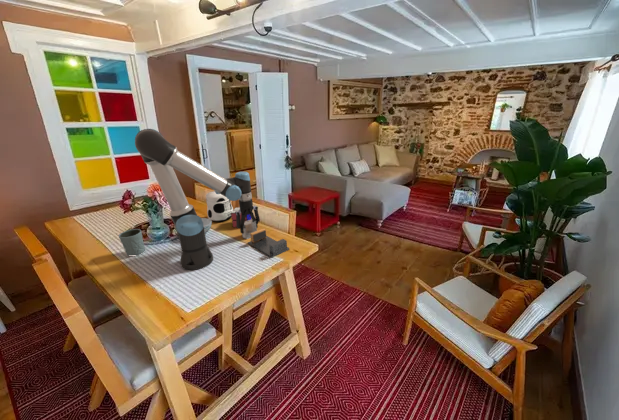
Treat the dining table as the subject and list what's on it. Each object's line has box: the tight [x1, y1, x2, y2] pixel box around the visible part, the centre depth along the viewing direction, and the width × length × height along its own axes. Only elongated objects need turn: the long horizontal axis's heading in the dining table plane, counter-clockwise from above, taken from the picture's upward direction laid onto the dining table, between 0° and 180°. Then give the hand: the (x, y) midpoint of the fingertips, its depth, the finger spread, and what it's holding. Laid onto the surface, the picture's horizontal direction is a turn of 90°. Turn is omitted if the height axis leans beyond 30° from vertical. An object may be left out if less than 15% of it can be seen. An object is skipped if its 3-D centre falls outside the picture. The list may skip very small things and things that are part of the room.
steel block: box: [243, 218, 258, 240], centre depth 160 cm, size 7×5×9 cm
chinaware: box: [201, 217, 213, 236], centre depth 164 cm, size 15×15×8 cm
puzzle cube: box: [231, 207, 252, 228], centre depth 177 cm, size 10×10×10 cm
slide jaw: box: [250, 228, 267, 242], centre depth 153 cm, size 9×2×5 cm, turn 133°
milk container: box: [205, 190, 234, 222], centre depth 186 cm, size 17×17×18 cm
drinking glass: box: [118, 228, 146, 256], centre depth 144 cm, size 10×10×12 cm
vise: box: [247, 235, 290, 259], centre depth 147 cm, size 12×22×6 cm, turn 43°
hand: (250, 235), depth 161 cm, fingers open, 7 cm apart
